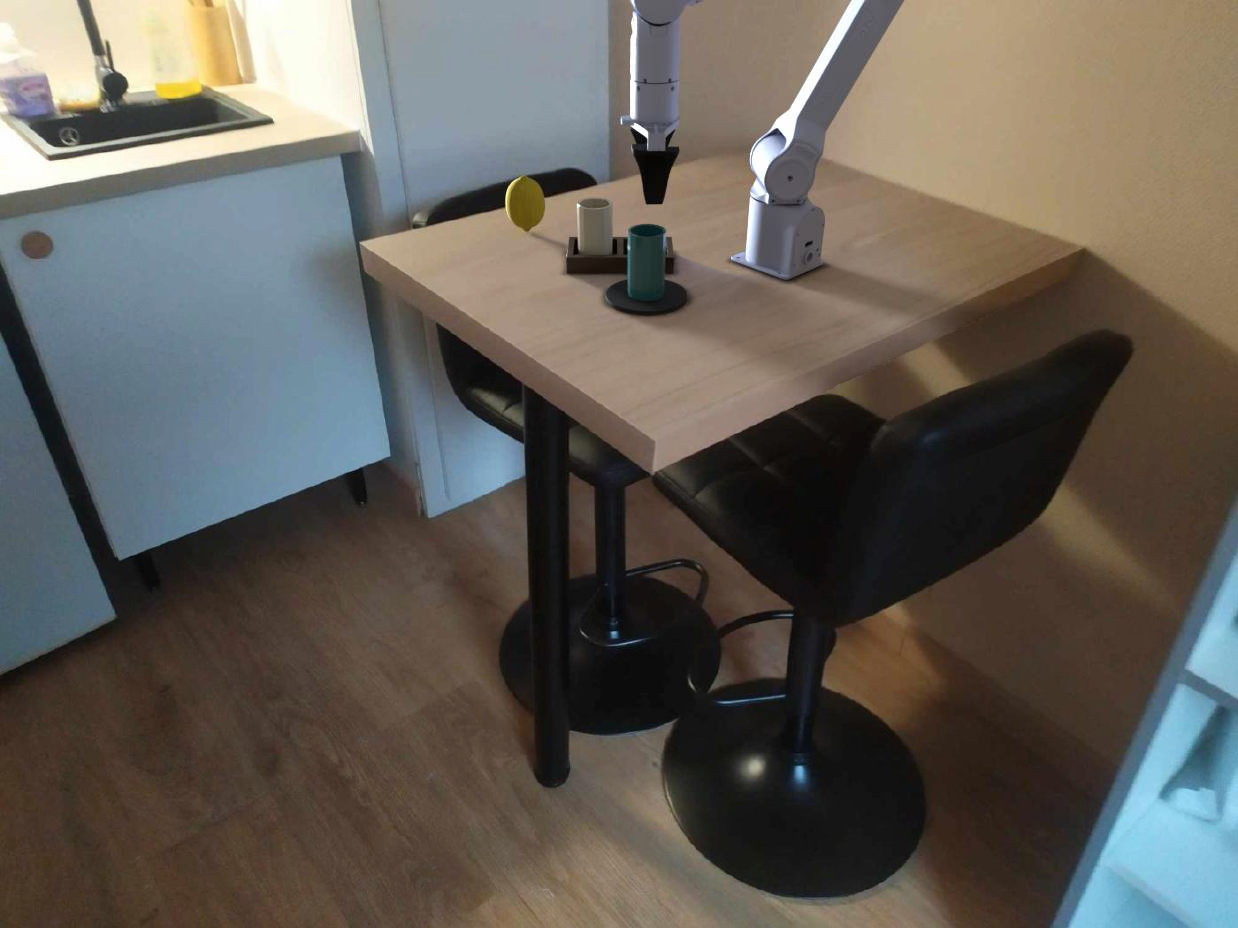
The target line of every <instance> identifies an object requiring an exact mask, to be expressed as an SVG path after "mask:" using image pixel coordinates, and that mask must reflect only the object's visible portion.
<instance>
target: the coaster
mask: <svg viewBox="0 0 1238 928" xmlns="http://www.w3.org/2000/svg"><path fill="white" fill-rule="evenodd" d="M605 300H606V303H607V304H608V305H609V306H610V307H612V308H613V309H615V310H618V311H621V312H623V313H627V314H631V315H641V316H655V315H662V314H663V315H664V314H667V313H671V312H674V311H677V310H679V309H680V308H682V307H683V306H684V305H685V304H686V303H687V301H688V292H687V290H686V289H685V288H684V286H682V285H680V284H679V283H677V282H675V281H672V280H669V279H665V291H664V296H663V297H662V298H660V299H658V300H654V301H638V300H635V299H632V298H630V297H629V296H628V278H626V279H623V280H620V281H617V282H614V283H613V284H611V285H610V286H609V287H608V288H607V289H606V290H605Z"/></svg>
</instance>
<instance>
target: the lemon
mask: <svg viewBox="0 0 1238 928" xmlns="http://www.w3.org/2000/svg"><path fill="white" fill-rule="evenodd" d="M505 193H506V194H505V211H506V214H507V217H508V219H509V221H510V222H511V223H512V224H513V225H514V226H516V227H517V228H519V229H521V230H523V231H524V232H525V233H527V232H530V231H531V230H532V229H533V228H534V227H536V226H538V225H539V224H540V223H541V222H542V220H543V219H544V216H545V212H546V211H545V210H546V199H545V195H544V192H543V189H542V187H541V185H540V184H539V183H538V182H537V180H534V179H533V178H531V177H528V176H527V175H525V174H523V175H521V176H519V177H518V178H516V179H514V180H513V181H512V182H511V183H510V184H509V185H508V187H507V189H506V192H505Z"/></svg>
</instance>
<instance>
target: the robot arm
mask: <svg viewBox="0 0 1238 928" xmlns="http://www.w3.org/2000/svg"><path fill="white" fill-rule="evenodd" d="M704 1H705V0H629V3H630V4H631V6H632V8H633V9H634V11H632V18H631V29H632V33H631V36H630V114H629V115H621V116H620V125H621V126H629V127H630V132H631V135H632V137H633V139H634V141H635V143H631V144H630V145H631V147H630V148H631V154H632V156H633V158H634V160H635V162H636V164H637V167H638V171H639V173H640V179H641V180H640V181H641V187H642V192H643V198H644V203H645V205H651V206H652V205H663V203H664V201H665V197H666V193H667V188H668V183H669V178H670V175H671V171H672V169H673V166H674V164H675V162H676V160H677V159H678V157H679V154H680V146H669V145H670V143H671V140H672V138H673V136H674V134H675V132H676V129H677V128H678V127H679V126H680V123H681V117H680V115H679V106H680V105H679V104H680V103H679V101H680V71H681V70H680V68H681V35H680V23H681V22H680V21H681V15H682V14H683V12H684V10H685V8H686V6H690V7H693V6H696V5H698V4H700V3H702V2H704ZM904 2H905V0H851V1H850V2H849V4H848V6H847V8H846V9H845V11H844V13H843V15H842V16H841V18H840V20H839V21H838V23H837V25H836V27H835V28H834V30H833V32H832V34H831V36H830V38H829V39H828V41H827V43H826V45H825V46H824V48H823V50H822V52H821V53H820V55H819V57H818V58H817V60H816V62H815V64H814V66H813V67H812V69H811V71H810V73H809V74H808V76H807V78H806V79H805V82H804V83H803V85H802V86H801V88H800V90H799V92H798V94H797V95H796V97H795V99H794V100H793V102H792V104H791V105H790V108H789V109H788V110H787V111H785V112H783V114H781V115H780V116H779V117H778V118H776V120H775V122H774V123H773V125H772V127H771V128H770V129H769V130H768V131H767V132H766V133H765V134H763V135H762V136H761V137H759V138H758V139H757V140H756V141H755V143H754V144H753V145H752V148H751V151H750V155H749V165H750V168H751V171H752V173H754V175H755V176H756V178H755V181H754V183H753V185H752V186H751V188H750V194H749V207H748V221H747V231H746V233H747V234H746V246H745V250H744V251H742V252H739V253H736V254H733V255H731V257H730V258H731V259H730V260H731V261H733V262H736V263H738V264H741V265H744V266H746V267H748V268H751V269H754V270H756V271H759V272H762V273H764V274H767V275H770V276H772V277H776V278H778V279H781V280H784V281H788V280H790V279H793V278H796V277H797V276H800V275H802V274H804V273H807V272H810V271H811V270H814V269H816V268H819V267H820V266H823V265H824V261H823V260H822V259H821V257H822V248H823V242H824V235H825V234H824V233H825V232H824V231H825V225H826V217H825V212H824V210H823V208H822V207H820V206H818V205H817V204H814V203H813V202H812V201H811V200H810V199H809V192H810V190H811V189H812V187H813V185H814V182H815V179H816V170H817V166H818V164H819V162H820V160H821V159H822V157H823V156H824V155H823V154H824V150H825V140H826V133H827V131H828V129H829V128H830V126H831V125H832V123H833V121H834V119H835V118H836V116H837V115H838V112H839V111H840V109H841V107H842V106H843V104H844V103H845V102H846V101H845V100H846V99H847V97H848V96H849V94H850V93H851V91H852V89H853V87H854V86H855V84H856V82H857V80H858V79H859V77H860V76H861V74H862V72H863V71H864V69H865V67H866V65H867V64H868V62H869V60H870V59H871V57H872V56H873V54H874V52H875V51H876V49H877V47H878V46H879V44H880V42H881V40H882V39H883V37H884V35H885V34H886V32H887V30H888V29H889V27H890V26H891V23H893V21H894V19H895V17H896V15H897V14H898V13H899V11H900V9H901V7H902V5H903V4H904Z"/></svg>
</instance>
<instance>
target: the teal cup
mask: <svg viewBox="0 0 1238 928" xmlns="http://www.w3.org/2000/svg"><path fill="white" fill-rule="evenodd" d="M627 237H628V254H627V255H628V273H627V279H628V296H629V297H630V298H632V299H635V300H638V301H654V300H658V299H660V298H662V297H663V296H664V291H665V280H666V273H665V256H666V237H667V228H665V227H664V226H661V225H659V224H653V223H640V224H639V223H638V224H635V225H631V226H629V228H627Z"/></svg>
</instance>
